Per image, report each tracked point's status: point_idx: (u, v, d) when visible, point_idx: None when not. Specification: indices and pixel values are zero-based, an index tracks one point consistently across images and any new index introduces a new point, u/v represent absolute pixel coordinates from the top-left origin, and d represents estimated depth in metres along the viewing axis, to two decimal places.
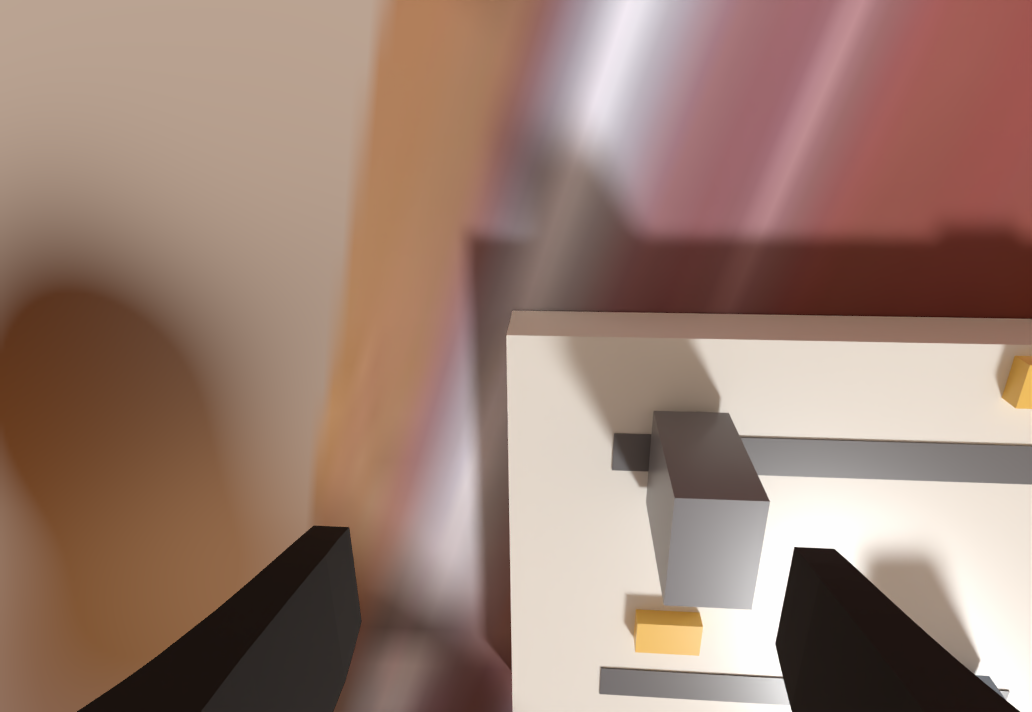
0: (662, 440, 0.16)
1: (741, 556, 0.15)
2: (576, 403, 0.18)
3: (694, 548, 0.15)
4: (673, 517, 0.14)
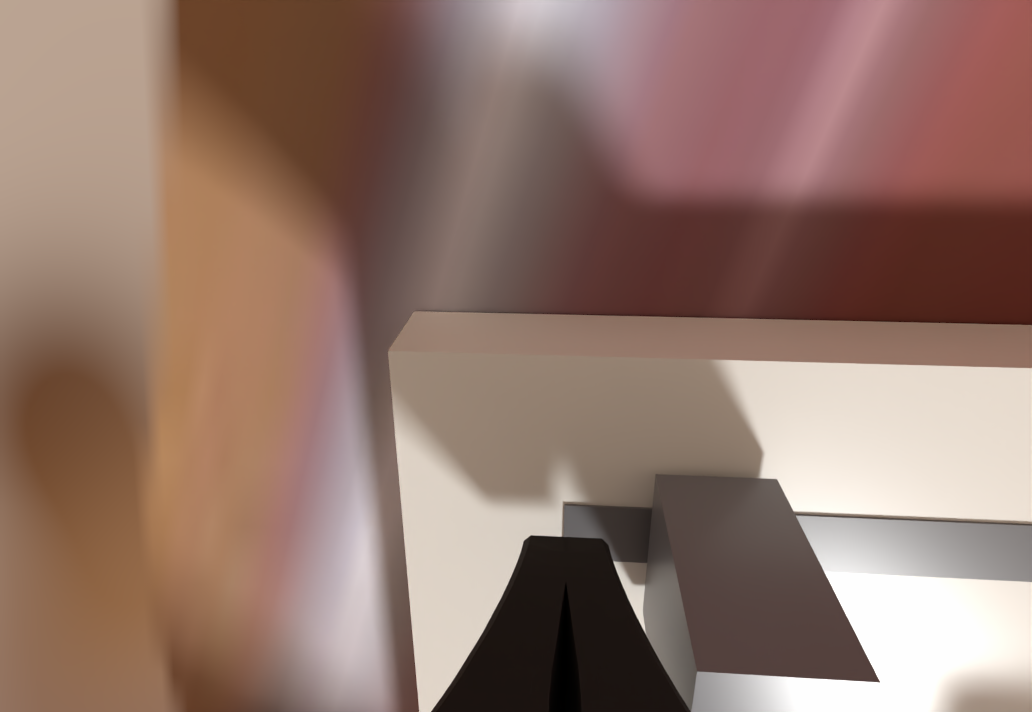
0: (671, 534, 0.10)
1: None
2: (504, 458, 0.12)
3: None
4: (694, 703, 0.08)
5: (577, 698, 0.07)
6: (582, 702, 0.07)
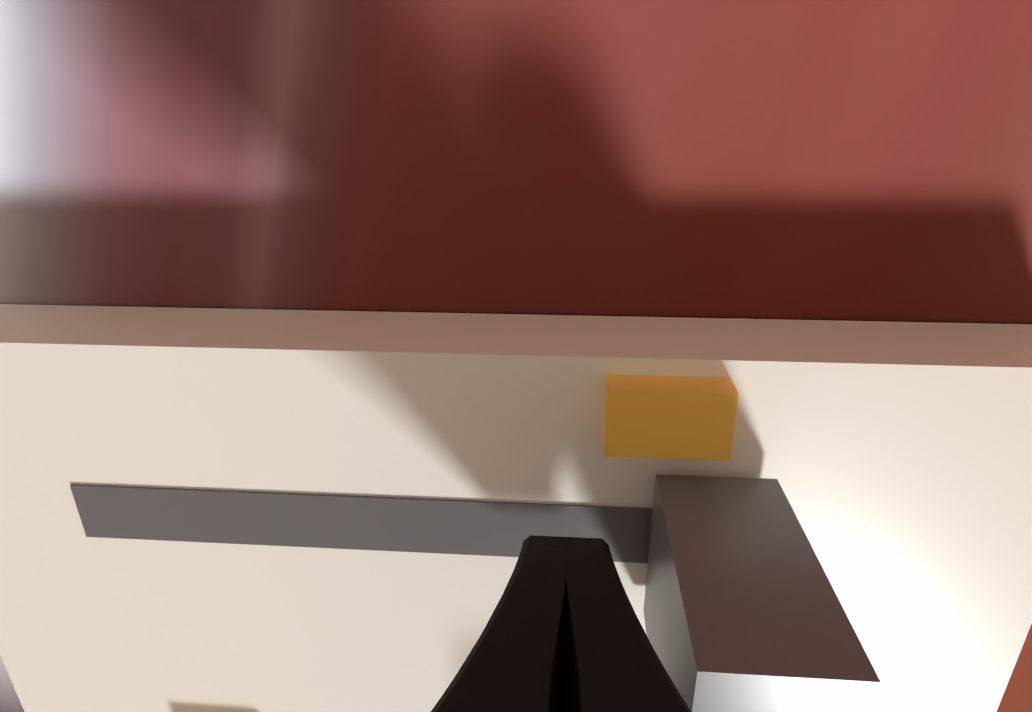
0: (671, 534, 0.10)
1: None
2: (3, 441, 0.12)
3: None
4: (694, 703, 0.08)
5: (577, 698, 0.07)
6: (583, 702, 0.07)
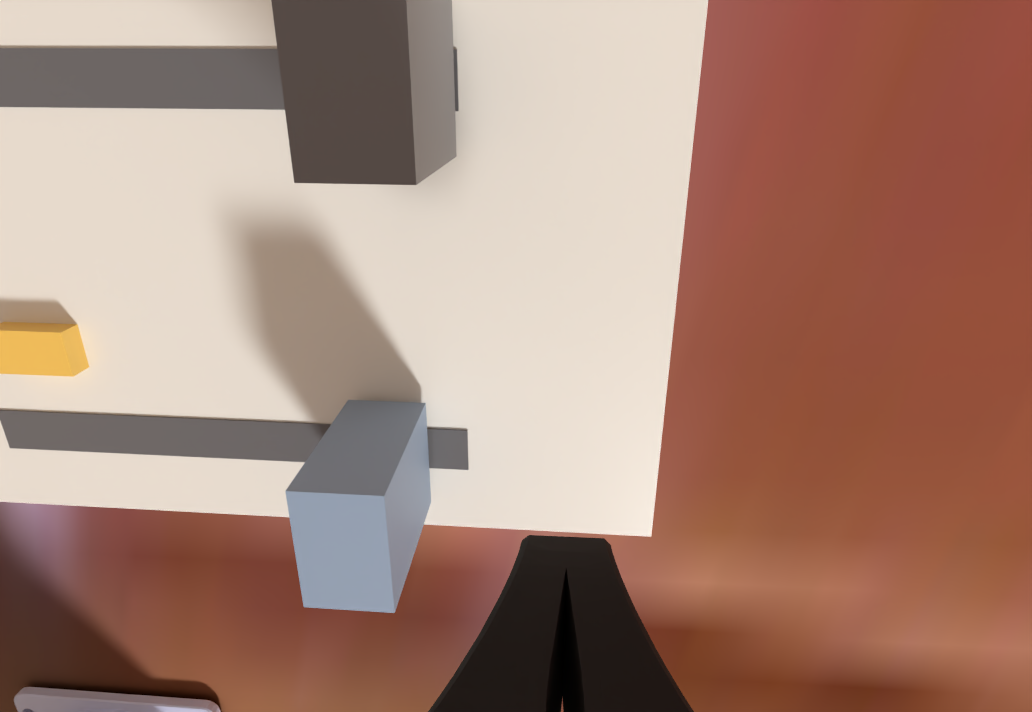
0: None
1: (383, 82, 0.10)
2: None
3: (314, 70, 0.10)
4: (273, 8, 0.10)
5: (580, 698, 0.07)
6: (585, 702, 0.07)
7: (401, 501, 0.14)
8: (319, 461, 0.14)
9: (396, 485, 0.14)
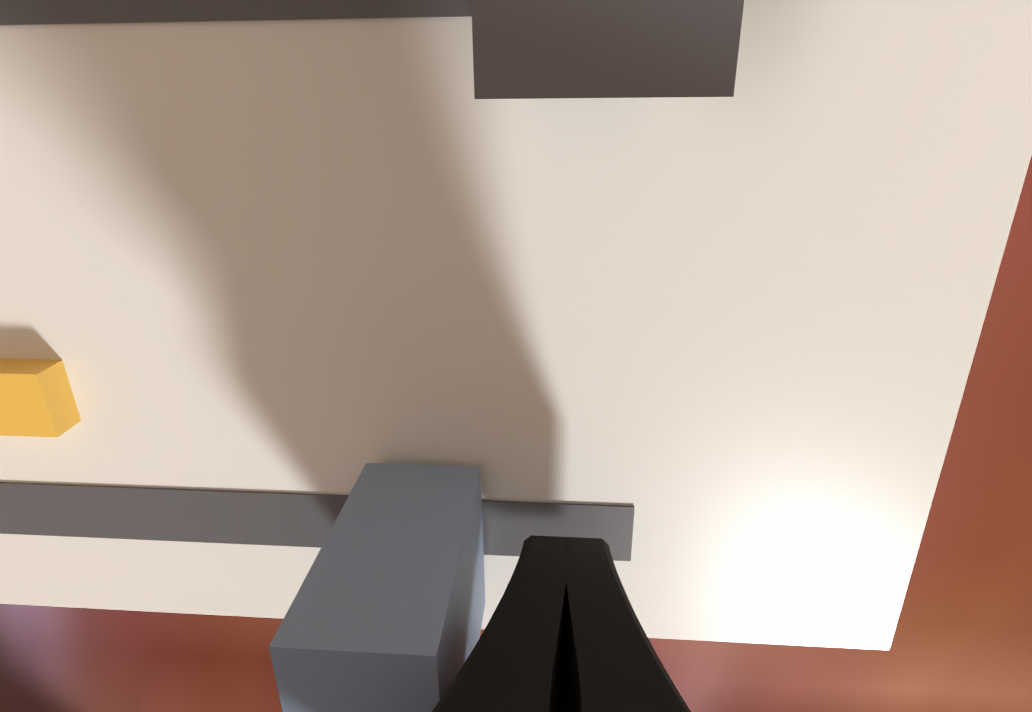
0: None
1: None
2: None
3: None
4: None
5: (577, 698, 0.07)
6: (582, 702, 0.07)
7: (456, 639, 0.09)
8: (324, 579, 0.09)
9: (450, 620, 0.09)
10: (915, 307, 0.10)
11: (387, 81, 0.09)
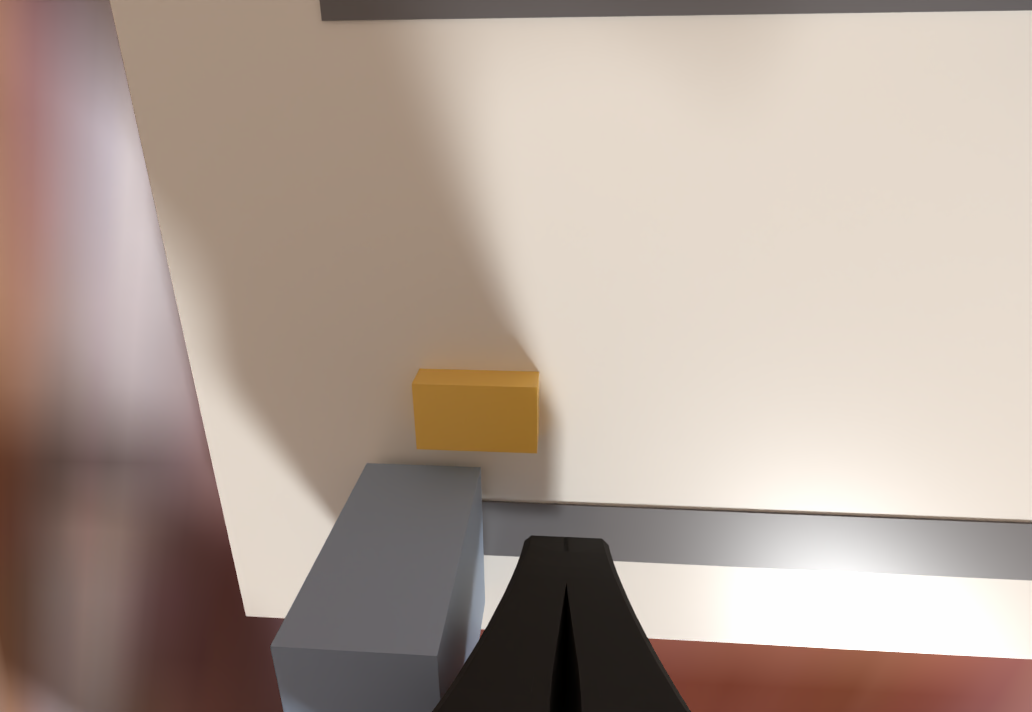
0: None
1: None
2: None
3: None
4: None
5: (577, 698, 0.07)
6: (582, 702, 0.07)
7: (456, 639, 0.09)
8: (326, 579, 0.09)
9: (450, 620, 0.09)
10: None
11: (1009, 78, 0.09)
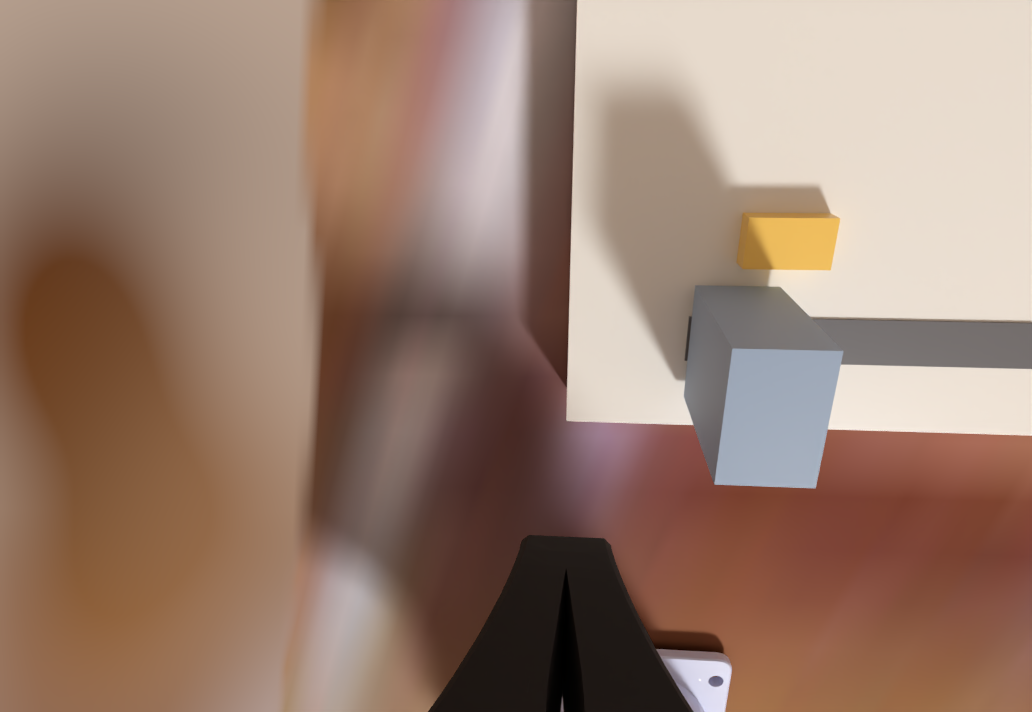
0: None
1: None
2: None
3: None
4: None
5: (580, 698, 0.07)
6: (585, 702, 0.07)
7: None
8: (734, 327, 0.13)
9: None
10: None
11: None
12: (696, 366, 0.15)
